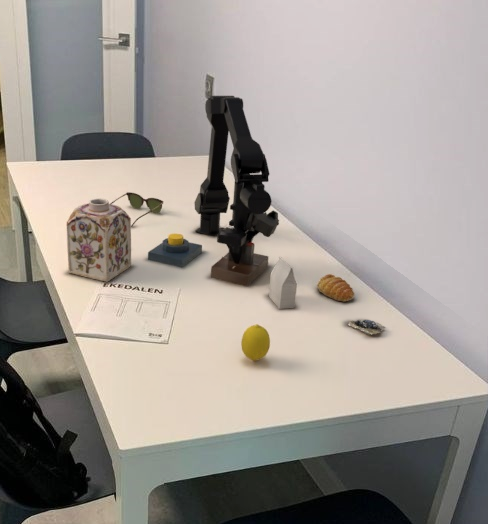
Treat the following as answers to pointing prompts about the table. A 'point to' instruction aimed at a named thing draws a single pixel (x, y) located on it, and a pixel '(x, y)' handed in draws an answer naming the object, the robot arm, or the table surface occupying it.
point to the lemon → (255, 342)
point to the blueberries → (367, 326)
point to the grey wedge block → (283, 285)
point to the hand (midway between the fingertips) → (240, 260)
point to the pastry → (335, 288)
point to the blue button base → (175, 253)
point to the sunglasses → (138, 201)
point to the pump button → (175, 239)
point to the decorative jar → (99, 240)
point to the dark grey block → (245, 254)
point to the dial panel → (239, 270)
